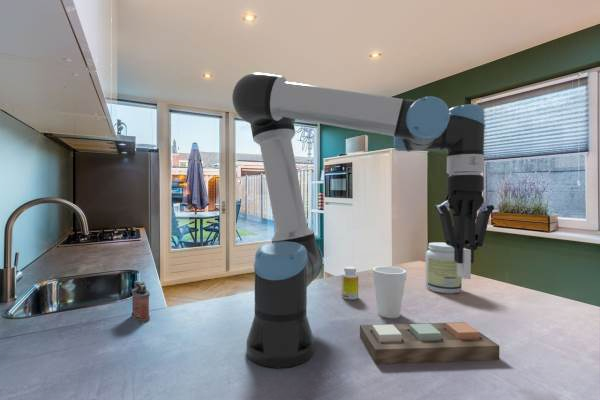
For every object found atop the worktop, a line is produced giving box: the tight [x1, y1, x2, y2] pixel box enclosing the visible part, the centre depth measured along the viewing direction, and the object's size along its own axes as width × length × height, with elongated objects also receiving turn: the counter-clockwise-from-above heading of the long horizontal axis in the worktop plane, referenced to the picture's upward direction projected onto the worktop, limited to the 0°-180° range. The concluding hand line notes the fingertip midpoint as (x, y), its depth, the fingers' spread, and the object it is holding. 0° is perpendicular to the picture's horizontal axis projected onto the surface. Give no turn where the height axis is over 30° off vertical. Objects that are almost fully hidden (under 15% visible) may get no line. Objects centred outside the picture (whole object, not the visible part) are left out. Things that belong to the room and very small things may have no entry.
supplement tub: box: [425, 241, 463, 295], centre depth 114 cm, size 12×12×17 cm
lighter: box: [131, 280, 151, 324], centre depth 86 cm, size 8×3×10 cm, turn 47°
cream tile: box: [371, 324, 402, 342], centre depth 69 cm, size 5×5×2 cm
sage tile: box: [409, 323, 441, 341], centre depth 70 cm, size 5×5×2 cm
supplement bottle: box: [341, 265, 359, 300], centre depth 104 cm, size 6×6×10 cm
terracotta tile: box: [445, 322, 481, 340], centre depth 71 cm, size 5×5×2 cm
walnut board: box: [359, 321, 500, 365], centre depth 70 cm, size 27×12×3 cm, turn 94°
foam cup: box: [372, 265, 407, 319], centre depth 90 cm, size 10×9×13 cm
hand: (463, 277), depth 71 cm, fingers closed
